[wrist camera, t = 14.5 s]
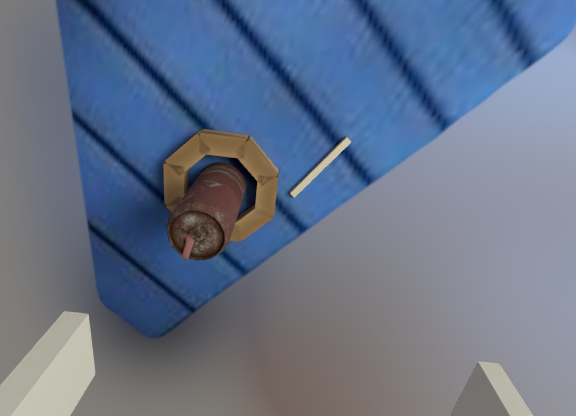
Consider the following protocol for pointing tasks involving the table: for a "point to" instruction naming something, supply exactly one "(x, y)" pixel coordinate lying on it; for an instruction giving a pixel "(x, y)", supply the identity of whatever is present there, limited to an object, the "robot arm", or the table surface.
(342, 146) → the straight beige square stick
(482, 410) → the robot arm
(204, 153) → the wooden ring
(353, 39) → the table surface
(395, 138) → the table surface
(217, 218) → the can
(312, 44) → the table surface
